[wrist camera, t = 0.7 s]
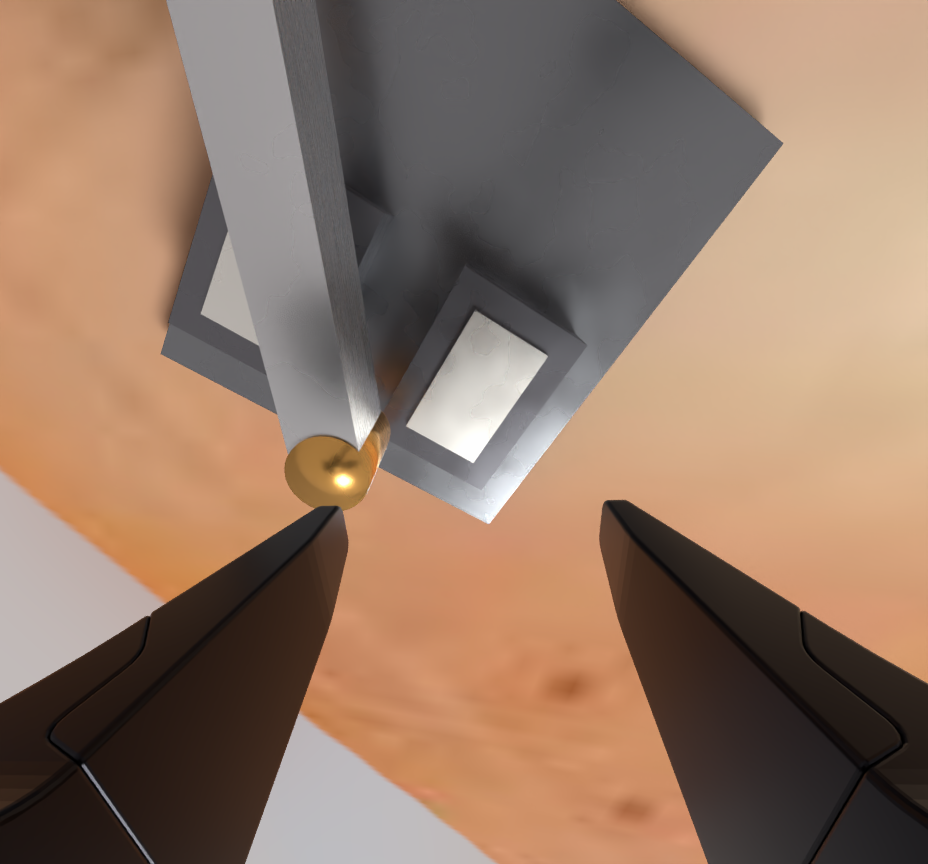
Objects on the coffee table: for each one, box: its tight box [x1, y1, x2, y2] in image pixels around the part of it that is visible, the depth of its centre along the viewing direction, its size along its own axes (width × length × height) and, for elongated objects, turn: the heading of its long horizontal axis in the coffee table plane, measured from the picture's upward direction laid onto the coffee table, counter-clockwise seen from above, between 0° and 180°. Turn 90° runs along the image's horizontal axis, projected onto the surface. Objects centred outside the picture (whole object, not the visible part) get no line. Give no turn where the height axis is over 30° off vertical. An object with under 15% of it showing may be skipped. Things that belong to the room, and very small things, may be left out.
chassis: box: [161, 0, 783, 524], centre depth 15 cm, size 18×16×3 cm
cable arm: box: [166, 0, 391, 511], centre depth 10 cm, size 18×2×3 cm, turn 4°
